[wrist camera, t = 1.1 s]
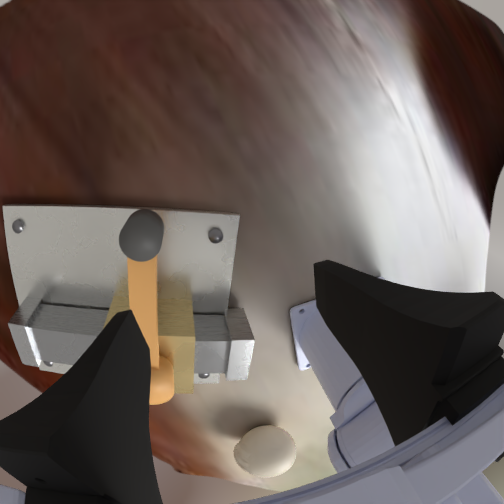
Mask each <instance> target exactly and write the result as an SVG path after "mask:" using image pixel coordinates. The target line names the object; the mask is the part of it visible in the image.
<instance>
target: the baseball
mask: <svg viewBox="0 0 504 504" xmlns="http://www.w3.org/2000/svg"><path fill="white" fill-rule="evenodd" d="M234 458H235V460H236V462H237V464H238V465H239V466H240V467H241V468H242V469H243V470H244V471H246V472H249V473H250V474H252V475H254V476H257V477H265V478H267V477H274V476H278V475H280V474H282V473H284V472H286V471H287V470H288V469H290V468H291V466H292V465H293V463H294V461H295V458H296V445H295V442H294V440H293V438H292V437H291V435H290V434H289V433H288V432H287V431H285V430H284V429H282V428H280V427H276V426H272V425H264V426H259V427H256V428H254V429H252V430H250V431H249V432H247V433H246V434H245V435H244V436H243V437H242V439H241V440H240V441H239V443H238V444H237V445H236V446H235V447H234Z"/></svg>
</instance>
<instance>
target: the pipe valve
mask: <svg viewBox="0 0 504 504" xmlns="http://www.w3.org/2000/svg"><path fill="white" fill-rule="evenodd" d="M126 310H130V305H129V297H120V296H114V297H113V300H112V303H111V306H110V309H109V310H97V309H85V308H75V307H65V306H55V305H46V304H43V301H42V298H34V297H26V298H25V300H24V301H23V302H22V304H21V305H20V306H19V308H18V309H17V311H16V312H15V314H14V315H13V316H12V318H11V319H10V321H9V322H8V325H9V328H10V331H11V334H12V337H13V340H14V342H15V345H16V348H17V350H18V353H19V356H20V358H21V361H22V363H23V364H26V365H31V366H36V367H39V365H40V362H41V360H42V361H48V362H54V363H60V364H67V365H74V364H75V363H76V362H77V360H78V359H79V358H80V357H81V356H82V354H83V353H84V352H85V351H86V350H87V349H88V347H89V346H90V345H91V344H92V343H93V341H94V340H95V339H96V337H97V336H98V335H99V334H100V332H101V331H102V330H103V329H104V327H105V326H106V325H107V324H108V322H109V321H110V320H111V319H112V318H113V316H114V315H115V314H116V313H117V312H122V311H126ZM157 312H158V341H159V355H161V356H163V357H165V358H166V359H167V360H169V362H170V363H171V364H172V366H173V369H174V393H182V394H193V388H194V374H210V373H225V377H226V380H247V377H248V372H249V367H250V362H251V357H252V352H253V347H254V342H255V339H254V336H253V333H252V331H251V328H250V325H249V322H248V320H247V317H246V314H245V311H244V308H228V310H224V312H223V315H193V306H192V300H179V299H157Z"/></svg>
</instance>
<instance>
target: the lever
mask: <svg viewBox="0 0 504 504" xmlns="http://www.w3.org/2000/svg"><path fill="white" fill-rule="evenodd" d="M163 235H164V223H163V220H162V219H161V217H160V216H159V215H158V214H157V213H156V212H154V211H152V210H149V209H140V210H137V211H135V212H133V213H132V214H131V215H130V216H129V218H128V219H127V221H126V223H125V224H124V226H123V228H122V229H121V231H120V234H119V245H120V248H121V250H122V252H123V253H124V254H125V255H126V256H127V267H128V289H129V305H130V310H132V312H133V314H134V316H135V319H136V321H137V323H138V325H139V327H140V329H141V332H142V334H143V336H144V338H145V340H146V342H147V344H148V346H149V348H150V359H151V383H150V400H149V404H151V405H155V404H161V403H165V402H167V401H168V400H170V399H171V398H172V397H173V395H174V369H173V366H172V364H171V363H170V362H169V360H167V359H166V358H165V357H163V356H161V355H159V341H158V312H157V254H158V253H159V251H160V249H161V246H162V240H163Z"/></svg>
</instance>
